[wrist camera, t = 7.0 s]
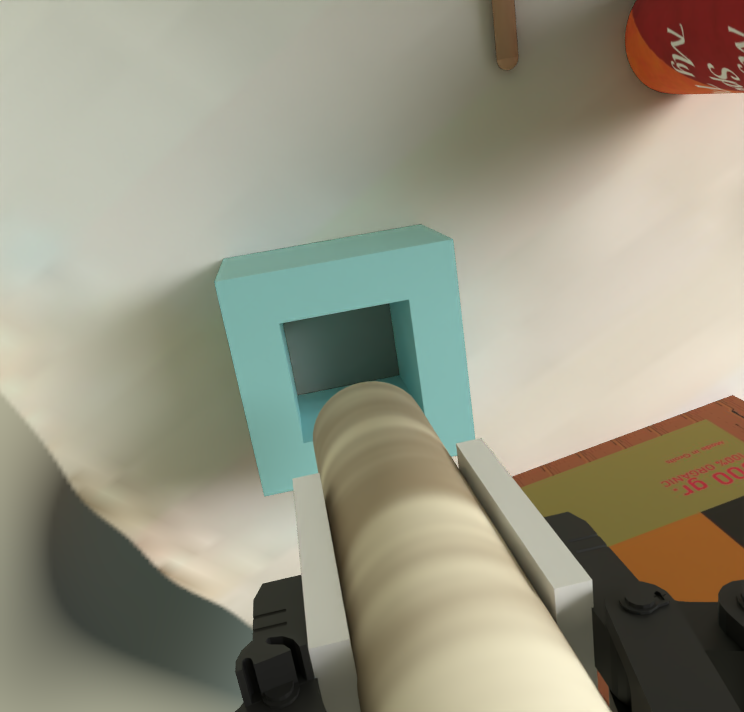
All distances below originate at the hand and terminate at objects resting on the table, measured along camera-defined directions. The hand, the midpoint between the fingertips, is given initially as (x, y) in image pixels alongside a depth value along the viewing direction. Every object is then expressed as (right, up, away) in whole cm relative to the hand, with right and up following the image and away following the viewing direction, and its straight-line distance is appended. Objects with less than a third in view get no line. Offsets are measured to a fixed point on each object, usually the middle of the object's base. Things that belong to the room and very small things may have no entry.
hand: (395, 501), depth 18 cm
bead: (-2, +5, +16) cm, 17 cm away
